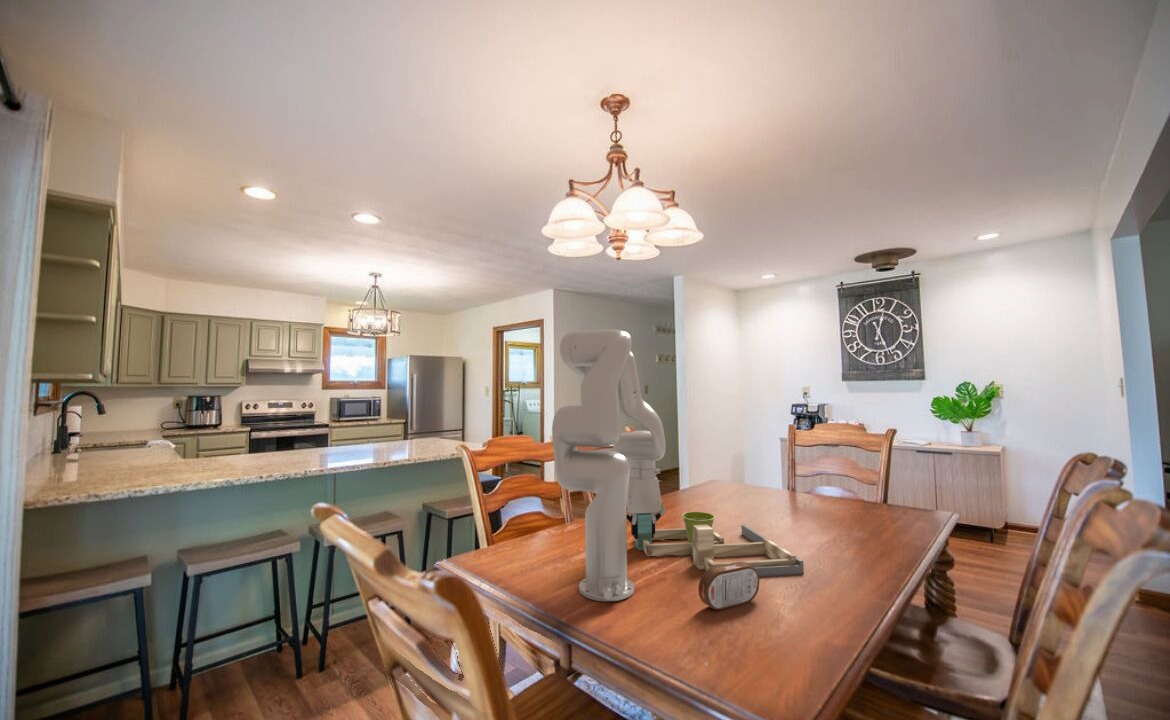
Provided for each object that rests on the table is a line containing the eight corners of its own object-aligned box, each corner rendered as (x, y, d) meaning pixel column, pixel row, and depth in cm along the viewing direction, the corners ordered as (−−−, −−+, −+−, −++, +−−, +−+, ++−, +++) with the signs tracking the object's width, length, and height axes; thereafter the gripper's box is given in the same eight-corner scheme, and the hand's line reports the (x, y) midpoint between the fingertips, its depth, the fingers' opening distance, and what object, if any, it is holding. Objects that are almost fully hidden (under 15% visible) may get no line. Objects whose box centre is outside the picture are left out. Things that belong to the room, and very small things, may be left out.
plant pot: (709, 553, 134) (708, 521, 134) (677, 547, 139) (677, 517, 140) (719, 543, 142) (719, 514, 142) (689, 538, 147) (688, 510, 147)
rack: (804, 573, 119) (804, 561, 119) (714, 579, 116) (714, 566, 116) (744, 534, 151) (744, 524, 151) (673, 537, 148) (672, 527, 148)
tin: (752, 595, 107) (751, 557, 107) (762, 601, 104) (761, 561, 104) (697, 609, 100) (696, 568, 101) (707, 615, 97) (706, 573, 98)
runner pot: (724, 552, 134) (723, 516, 135) (642, 557, 131) (642, 520, 132) (704, 537, 148) (704, 504, 149) (631, 540, 145) (630, 507, 146)
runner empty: (796, 572, 120) (795, 531, 120) (706, 577, 117) (706, 535, 117) (767, 552, 134) (766, 516, 135) (686, 556, 131) (686, 519, 132)
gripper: (666, 470, 144) (667, 532, 143) (611, 471, 142) (612, 534, 141) (674, 474, 137) (675, 539, 136) (616, 476, 135) (617, 542, 134)
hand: (643, 536), depth 139 cm, fingers closed on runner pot, 4 cm apart
